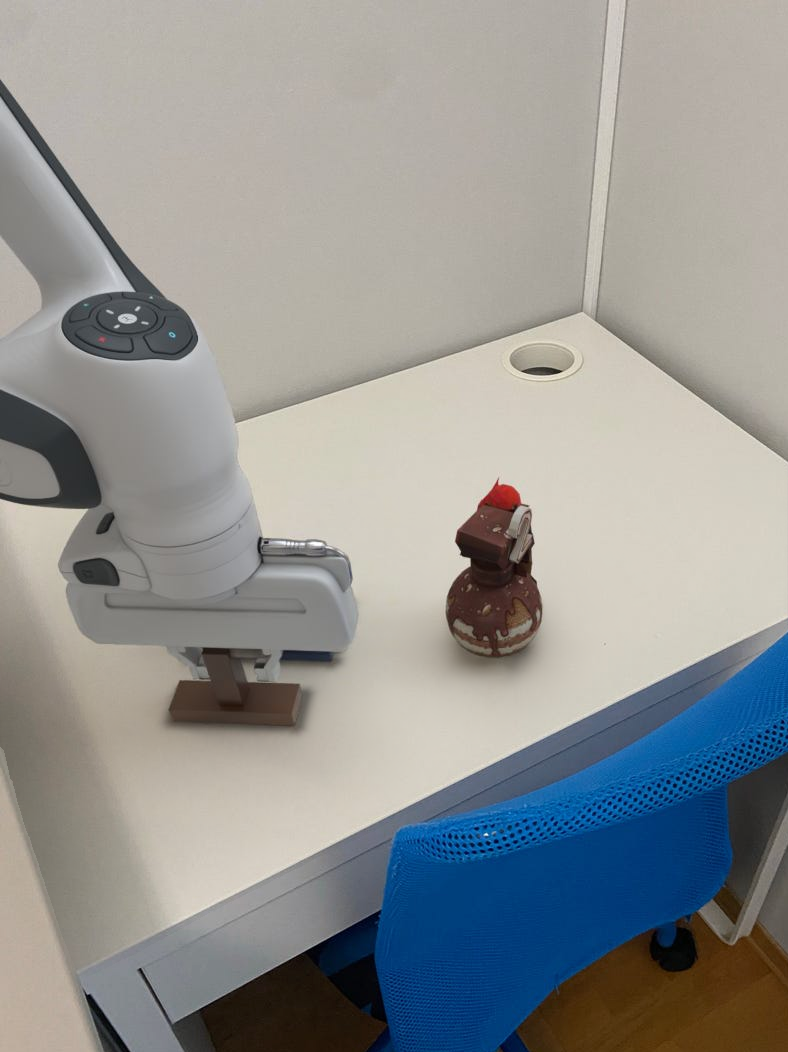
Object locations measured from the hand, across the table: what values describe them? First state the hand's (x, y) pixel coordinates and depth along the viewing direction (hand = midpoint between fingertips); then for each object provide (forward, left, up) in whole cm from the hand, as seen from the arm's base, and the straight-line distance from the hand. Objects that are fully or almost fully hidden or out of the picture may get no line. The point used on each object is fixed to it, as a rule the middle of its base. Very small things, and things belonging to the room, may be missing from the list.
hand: (237, 674), depth 73 cm
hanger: (-1, 0, -4) cm, 4 cm away
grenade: (+20, +9, -4) cm, 22 cm away
